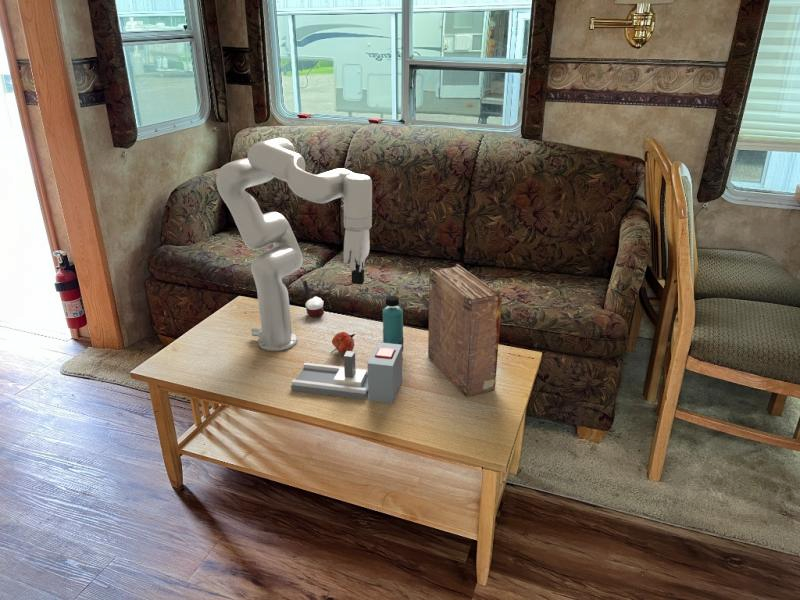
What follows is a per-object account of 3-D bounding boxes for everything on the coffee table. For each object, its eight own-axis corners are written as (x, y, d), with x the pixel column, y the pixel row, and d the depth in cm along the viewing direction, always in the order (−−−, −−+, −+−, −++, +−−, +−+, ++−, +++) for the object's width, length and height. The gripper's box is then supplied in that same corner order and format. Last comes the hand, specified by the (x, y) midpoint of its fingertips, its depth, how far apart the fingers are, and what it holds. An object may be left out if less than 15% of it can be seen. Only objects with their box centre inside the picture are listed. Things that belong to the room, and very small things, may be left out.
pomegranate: (335, 365, 195) (360, 348, 192) (320, 348, 193) (345, 330, 191) (339, 356, 202) (363, 339, 199) (325, 339, 200) (349, 322, 198)
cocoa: (327, 319, 220) (327, 288, 215) (310, 322, 218) (309, 291, 212) (318, 307, 228) (317, 277, 223) (301, 310, 225) (301, 280, 220)
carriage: (333, 385, 178) (332, 357, 174) (340, 373, 183) (339, 346, 179) (360, 388, 176) (359, 360, 172) (366, 376, 182) (365, 349, 178)
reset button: (376, 367, 173) (376, 355, 171) (380, 359, 177) (379, 347, 175) (391, 369, 172) (390, 356, 171) (394, 361, 176) (394, 349, 174)
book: (427, 356, 196) (429, 267, 183) (453, 350, 199) (456, 263, 186) (467, 397, 174) (471, 301, 162) (495, 390, 178) (502, 295, 165)
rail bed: (291, 390, 178) (290, 382, 177) (306, 369, 189) (305, 361, 188) (365, 399, 174) (364, 391, 173) (376, 377, 184) (375, 369, 183)
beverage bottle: (401, 361, 193) (401, 302, 184) (380, 358, 194) (379, 301, 186) (405, 350, 199) (405, 293, 190) (385, 348, 200) (384, 292, 191)
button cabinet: (368, 400, 174) (367, 363, 168) (379, 377, 184) (378, 342, 179) (393, 403, 172) (392, 365, 167) (402, 380, 183) (402, 344, 178)
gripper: (352, 211, 174) (353, 271, 182) (335, 228, 161) (336, 292, 169) (378, 214, 173) (377, 274, 181) (363, 231, 160) (363, 295, 168)
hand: (357, 282), depth 175 cm, fingers closed
